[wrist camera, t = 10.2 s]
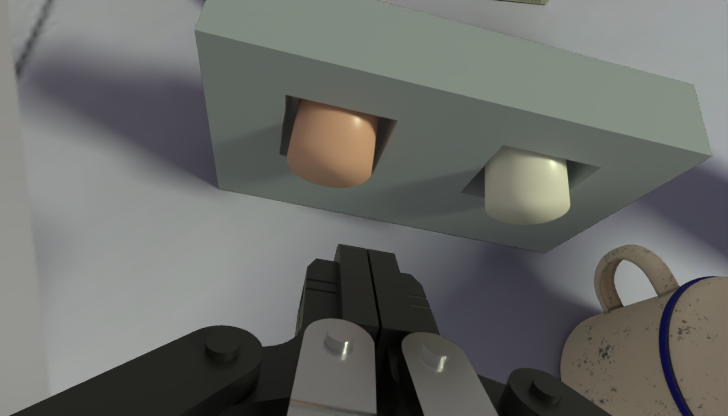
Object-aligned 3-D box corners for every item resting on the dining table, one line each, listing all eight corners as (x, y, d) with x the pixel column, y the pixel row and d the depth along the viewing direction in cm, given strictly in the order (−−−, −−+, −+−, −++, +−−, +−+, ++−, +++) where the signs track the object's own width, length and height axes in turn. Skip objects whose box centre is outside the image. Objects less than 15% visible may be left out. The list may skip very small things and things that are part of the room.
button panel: (234, 135, 30) (221, -42, 19) (541, 201, 33) (693, 84, 22) (218, 188, 28) (194, 29, 17) (545, 253, 32) (712, 155, 20)
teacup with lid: (711, 432, 29) (968, 437, 18) (603, 496, 26) (836, 546, 15) (611, 256, 33) (777, 179, 22) (507, 294, 30) (642, 226, 19)
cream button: (473, 110, 28) (505, 64, 24) (534, 125, 28) (575, 82, 25) (471, 215, 24) (508, 180, 21) (541, 229, 25) (588, 198, 21)
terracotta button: (307, 71, 26) (315, 16, 23) (375, 87, 27) (394, 36, 23) (284, 178, 23) (289, 133, 19) (361, 194, 24) (381, 153, 20)
